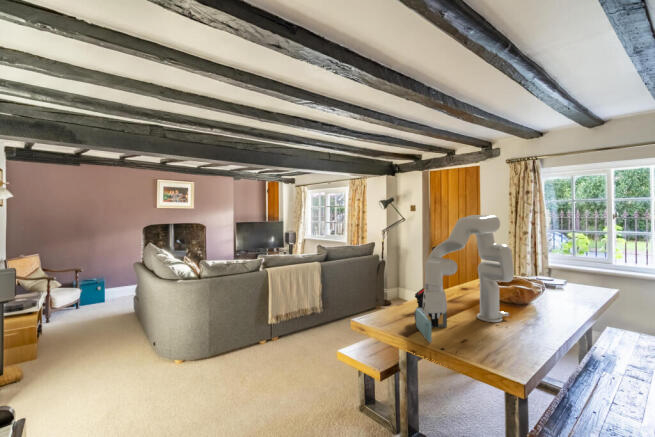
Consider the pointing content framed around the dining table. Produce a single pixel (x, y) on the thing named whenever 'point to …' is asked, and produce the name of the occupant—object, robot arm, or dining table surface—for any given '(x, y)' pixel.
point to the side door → (423, 325)
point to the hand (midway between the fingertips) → (434, 326)
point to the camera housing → (441, 321)
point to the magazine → (420, 298)
